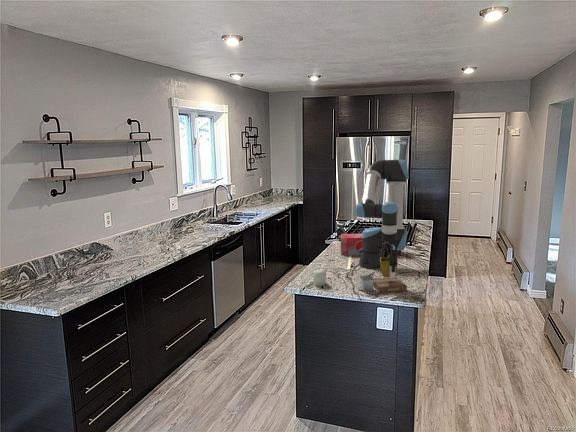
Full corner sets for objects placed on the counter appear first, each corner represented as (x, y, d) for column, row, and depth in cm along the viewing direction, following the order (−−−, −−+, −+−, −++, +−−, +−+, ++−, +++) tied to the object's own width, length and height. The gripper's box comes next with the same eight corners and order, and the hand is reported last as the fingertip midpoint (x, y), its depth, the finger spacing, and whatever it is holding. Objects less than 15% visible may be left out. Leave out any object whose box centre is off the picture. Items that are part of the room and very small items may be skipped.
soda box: (399, 250, 292) (399, 232, 290) (402, 256, 278) (402, 237, 276) (340, 250, 297) (340, 233, 295) (340, 256, 283) (340, 237, 281)
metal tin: (360, 288, 218) (360, 275, 217) (370, 287, 218) (370, 275, 217) (363, 291, 213) (363, 279, 211) (373, 291, 213) (373, 278, 212)
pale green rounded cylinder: (312, 282, 230) (312, 269, 229) (324, 281, 231) (324, 269, 229) (314, 286, 223) (314, 273, 222) (327, 285, 224) (327, 272, 223)
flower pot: (397, 274, 220) (397, 257, 218) (397, 279, 211) (397, 262, 210) (380, 273, 222) (380, 257, 220) (379, 278, 213) (380, 261, 212)
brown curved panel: (371, 284, 224) (371, 278, 223) (396, 282, 225) (396, 277, 225) (380, 293, 210) (380, 287, 209) (406, 291, 211) (406, 285, 211)
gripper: (374, 228, 224) (374, 268, 227) (390, 237, 201) (389, 281, 205) (388, 228, 224) (387, 268, 228) (405, 237, 202) (404, 281, 206)
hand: (388, 274), depth 216 cm, fingers closed on flower pot, 10 cm apart
